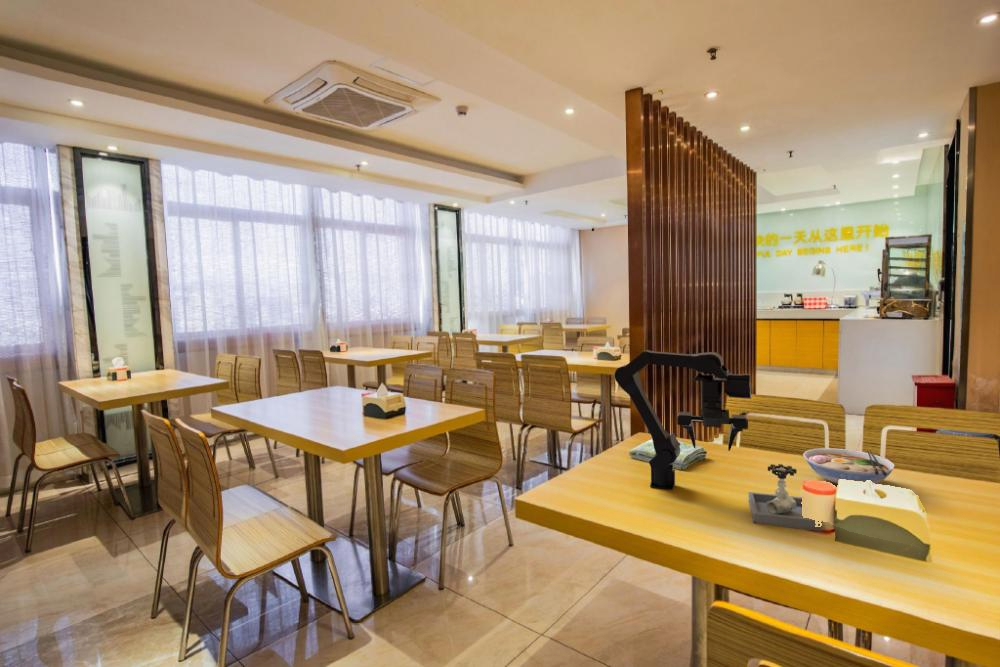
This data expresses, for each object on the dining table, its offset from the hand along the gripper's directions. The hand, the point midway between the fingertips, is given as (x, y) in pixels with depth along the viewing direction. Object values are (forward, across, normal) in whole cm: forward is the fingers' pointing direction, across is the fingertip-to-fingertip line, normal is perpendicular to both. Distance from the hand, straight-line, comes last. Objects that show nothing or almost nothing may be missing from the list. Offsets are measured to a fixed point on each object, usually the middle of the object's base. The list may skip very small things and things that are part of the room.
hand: (711, 449), depth 148 cm
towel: (+14, -14, +30) cm, 36 cm away
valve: (+13, +17, -11) cm, 23 cm away
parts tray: (+13, +17, -10) cm, 24 cm away
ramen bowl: (+13, +38, +20) cm, 45 cm away
